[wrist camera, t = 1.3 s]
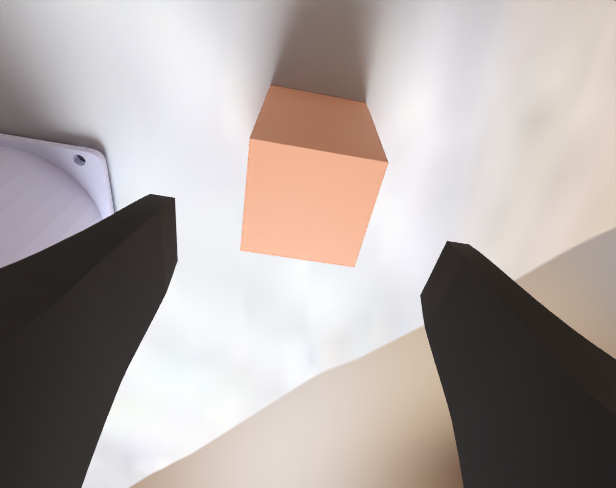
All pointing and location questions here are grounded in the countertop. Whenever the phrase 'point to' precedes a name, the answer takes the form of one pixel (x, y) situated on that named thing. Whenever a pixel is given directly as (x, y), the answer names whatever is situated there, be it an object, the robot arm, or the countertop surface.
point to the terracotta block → (311, 177)
